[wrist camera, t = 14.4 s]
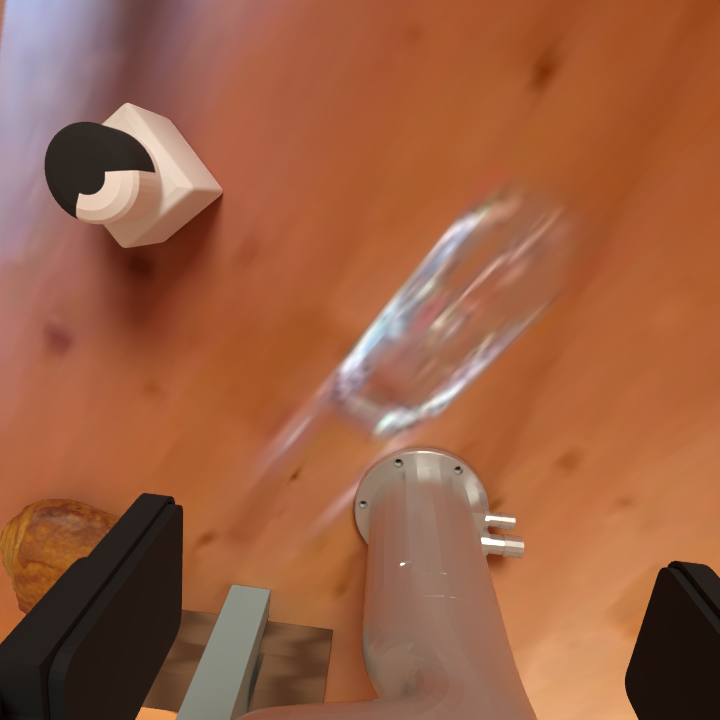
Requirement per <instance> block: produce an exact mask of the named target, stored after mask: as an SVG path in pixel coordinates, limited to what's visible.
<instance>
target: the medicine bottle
mask: <svg viewBox="0 0 720 720" xmlns="http://www.w3.org/2000/svg"><path fill="white" fill-rule="evenodd" d="M45 176H46V180H47V184H48V186H49V189H50V191H51V193H52V195H53V197H54V198H55V200H56V201H57V203H58V204H59V205H60V206H61V207H62V208H63V209H64V210H65V211H66V212H67V213H69V214H70V215H71V216H73V217H75V218H76V219H78V220H81V221H83V222H86V223H90V224H103V225H104V226H105V227H106V229H107V230H108V231H109V232H110V233H111V235H112V236H113V237H114V238H115V240H116V241H117V242H118V243H119V244H120V246H122V247H123V248H130V247H136V246H143V245H149V244H155V243H162V242H165V241H166V240H167V239H168V238H169V237H171V236H172V235H173V234H174V233H176V232H177V231H178V230H179V229H180V228H182V227H183V226H184V225H185V224H186V223H188V222H189V221H190V220H191V219H192V218H194V217H195V216H196V215H197V214H199V213H200V212H201V211H202V210H203V209H205V208H206V207H207V206H208V205H209V204H211V203H212V202H213V201H214V200H215V199H217V198H218V197H219V196H220V195H221V194H222V193H223V190H222V188H221V187H220V185H219V184H218V183H217V181H216V180H215V179H214V177H213V176H212V175H211V174H210V172H209V171H208V170H207V168H206V167H205V166H204V164H203V163H202V162H201V160H200V159H199V158H198V156H197V155H196V154H195V152H194V151H193V150H192V148H191V147H190V146H189V144H188V143H187V142H186V140H185V139H184V138H183V136H182V135H181V134H180V132H179V131H178V130H177V129H176V127H175V126H174V125H173V123H172V122H171V121H170V120H169V119H168V118H166V117H163V116H161V115H158V114H156V113H153V112H151V111H148V110H146V109H143V108H140V107H138V106H135V105H133V104H130V103H125V104H123V105H122V106H121V107H120V108H119V109H118V110H117V111H116V112H115V113H114V114H113V115H112V116H110V117H109V118H108V119H107V120H106V121H105V122H104V123H103V124H102V125H101V124H97V123H92V122H79V123H74V124H71V125H69V126H67V127H65V128H63V129H62V130H60V131H59V132H58V133H57V134H56V135H55V136H54V138H53V139H52V141H51V142H50V144H49V146H48V149H47V152H46V156H45Z"/></svg>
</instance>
